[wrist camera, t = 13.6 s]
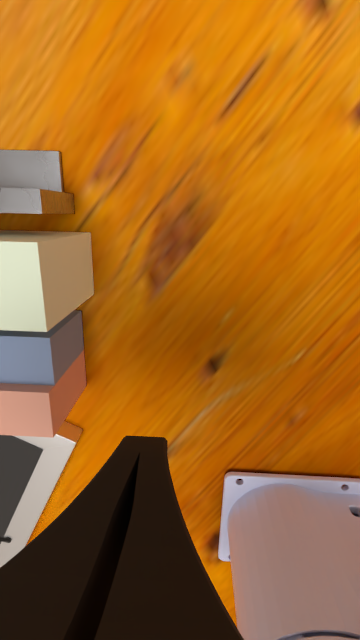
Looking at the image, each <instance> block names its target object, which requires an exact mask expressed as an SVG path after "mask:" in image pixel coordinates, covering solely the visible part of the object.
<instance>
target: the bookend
mask: <svg viewBox="0 0 360 640" xmlns="http://www.w3.org/2000/svg"><path fill="white" fill-rule="evenodd" d="M0 213H27V214H75V212H74V198H73V194H71V193H64V187H63V174H62V162H61V152H59V151H27V150H0Z"/></svg>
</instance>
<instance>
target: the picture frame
mask: <svg viewBox="0 0 360 640" xmlns="http://www.w3.org/2000/svg"><path fill="white" fill-rule="evenodd" d="M82 431H83V429H81V428H79V427H77V426H75V425H72V424H70V423H68V422H66V421H64V422H63V423H62V425H61V427H60V428H59V430H58V431H57V433H56V434H55V436H54V438H50V437H31V436H12V435H0V567H2V566H3V565H4V564H5V563H7V562H8V561H9V560H10V559H11V558H13V557H14V556H15V555H16V554H17V553H19V552H20V551H21V550H22V549H23V548H24V547H25V546H26V544H27V542H28V540H29V538H30V536H31V534H32V532H33V530H34V528H35V526H36V524H37V522H38V520H39V518H40V516H41V514H42V512H43V510H44V508H45V506H46V504H47V502H48V500H49V498H50V496H51V494H52V491H53V489H54V487H55V485H56V483H57V481H58V479H59V477H60V475H61V473H62V471H63V469H64V467H65V465H66V463H67V461H68V459H69V457H70V455H71V453H72V451H73V449H74V447H75V445H76V443H77V441H78V439H79V437H80V435H81V433H82Z"/></svg>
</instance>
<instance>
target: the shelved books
mask: <svg viewBox="0 0 360 640" xmlns="http://www.w3.org/2000/svg"><path fill="white" fill-rule="evenodd" d="M85 387H86V370H85V356H84V342H83V327H82V313H81V311H79V310H74V311H72V312H71V313H70V314H69V315H67V316H66V317H65V318H64V319H62V320H61V321H60V322H59V323H57V324H56V325H55V326H54V327H52V328H51V329H50V330H49V331H47V332H36V331H9V330H0V435H12V436H31V437H50V438H54V436H55V434H56V433H57V431H58V430H59V428H60V427H61V425H62V423H63V422H64V420H65V419H66V417H67V415H68V414H69V412H70V411H71V409H72V407H73V406H74V404H75V403H76V401H77V400H78V398H79V396H80V395H81V393H82V392H83V390H84V388H85Z"/></svg>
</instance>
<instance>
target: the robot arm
mask: <svg viewBox="0 0 360 640" xmlns="http://www.w3.org/2000/svg"><path fill="white" fill-rule="evenodd" d="M237 479H242V480H239V481H238V480H237ZM342 485H344V486H342ZM218 557H219V559H220V560H222V561H231V569H232V579H233V589H234V599H235V609H236V619H237V627H236V626H235V624H234V622H233V620H232V619H231V617H230V615H229V613H228V612H227V610H226V608H225V606H224V605H223V603H222V601H221V599H220V597H219V595H218V593H217V591H216V589H215V588H214V586H213V584H212V582H211V580H210V578H209V576H208V574H207V572H206V570H205V568H204V566H203V564H202V562H201V560H200V557H199V555H198V553H197V551H196V549H195V546H194V544H193V542H192V539H191V537H190V534H189V532H188V529H187V527H186V524H185V521H184V519H183V516H182V513H181V510H180V507H179V504H178V501H177V498H176V494H175V491H174V487H173V483H172V479H171V475H170V470H169V464H168V458H167V440H166V439H165V438H163V437H143V436H126V437H124V438H123V440H122V441H121V443H120V444H119V445H118V447H117V448H116V450H115V451H114V452H113V454H112V455H111V456H110V458H109V459H108V460H107V462H106V463H105V464H104V466H103V467H102V468H101V469H100V471H99V472H98V473H97V474H96V475H95V477H94V478H93V479H92V480H91V482H90V483H89V484H88V485H87V486H86V487H85V488H84V490H83V491H82V492H81V493H80V494H79V495H78V496H77V497H76V498H75V499H74V500H73V502H72V503H71V504H70V505H69V506H68V507H67V508H66V509H65V510H64V511H63V512H62V513H61V514H60V515H59V516H58V517H57V518H56V519H55V520H54V521H53V522H52V523H51V524H50V525H49V526H48V527H47V528H46V529H45V530H44V531H42V532H41V533H40V534H39V535H38V536H37V537H36V538H35V539H34V540H32V541H31V542H30V543H29V544H28V545H27V546H26V547H24V548H23V549H22V550H21V551H20V552H19V553H17V554H16V555H15V556H14V557H13V558H11V559H10V560H9V561H8V562H7V563H5V564H4V565H3V566H2V567H0V640H360V479H358V478H340V477H321V476H303V475H284V474H266V473H247V472H228V473H227V474H226V475H225V477H224V487H223V499H222V511H221V523H220V534H219V546H218Z"/></svg>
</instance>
